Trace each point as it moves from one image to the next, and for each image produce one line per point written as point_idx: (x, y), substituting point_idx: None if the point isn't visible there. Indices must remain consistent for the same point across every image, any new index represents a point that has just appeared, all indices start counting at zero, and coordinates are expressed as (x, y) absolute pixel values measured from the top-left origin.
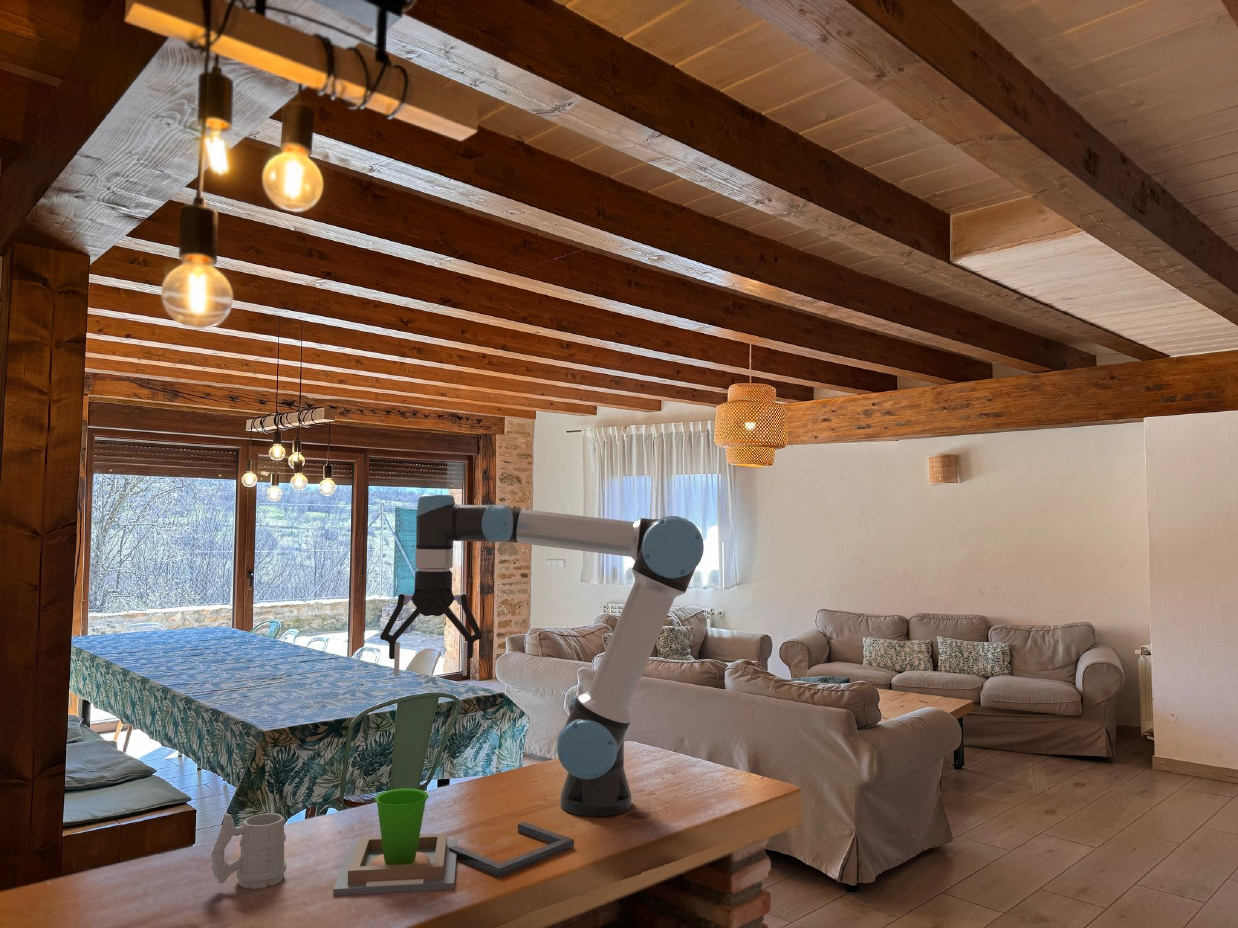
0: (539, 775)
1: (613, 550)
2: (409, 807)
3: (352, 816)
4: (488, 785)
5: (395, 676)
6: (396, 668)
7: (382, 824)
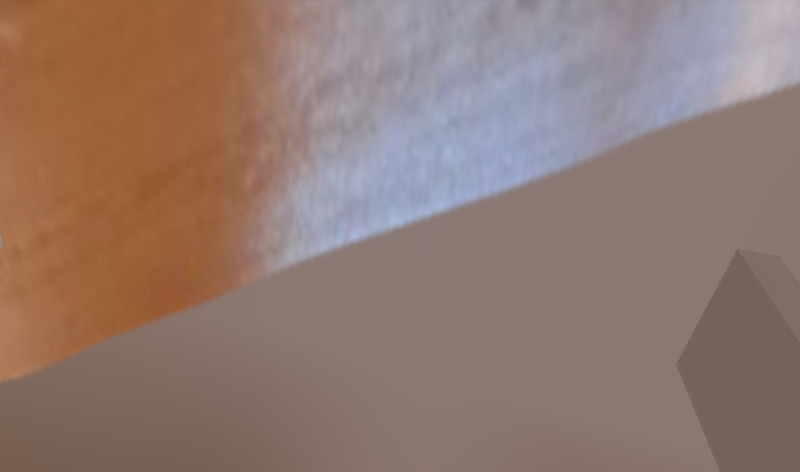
0: (31, 285)
1: None
2: None
3: (661, 77)
4: (191, 242)
5: (760, 255)
6: (792, 309)
7: None
